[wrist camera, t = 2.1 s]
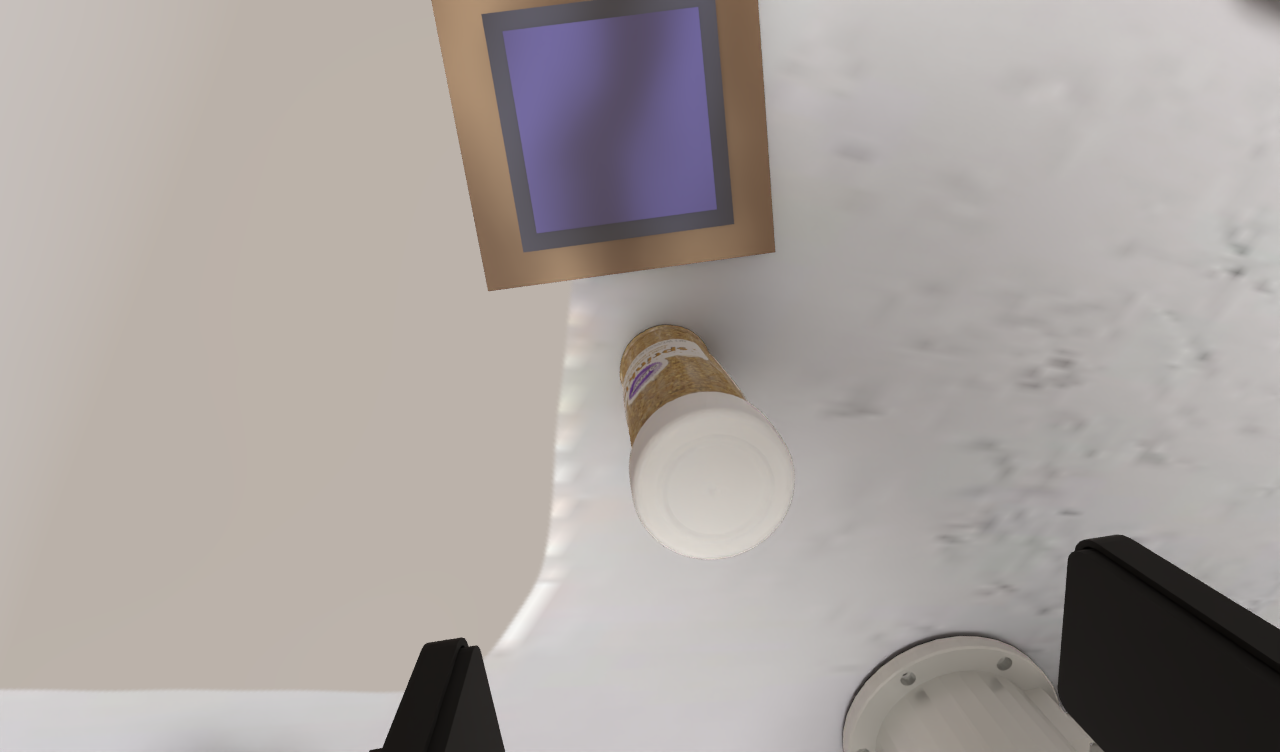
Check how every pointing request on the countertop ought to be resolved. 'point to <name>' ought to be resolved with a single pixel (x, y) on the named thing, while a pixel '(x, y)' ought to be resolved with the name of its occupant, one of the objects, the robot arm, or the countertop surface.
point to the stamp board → (608, 133)
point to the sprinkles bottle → (699, 450)
